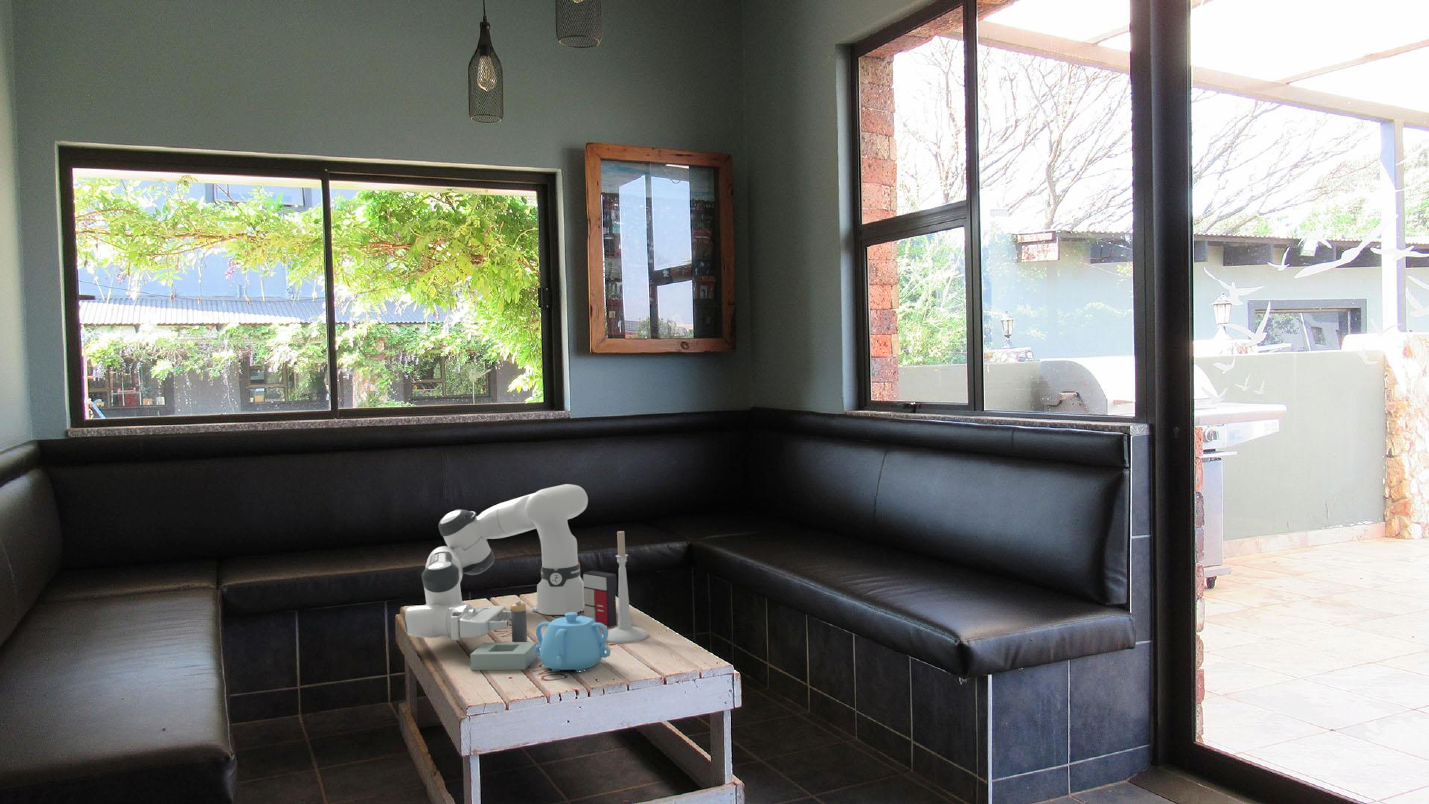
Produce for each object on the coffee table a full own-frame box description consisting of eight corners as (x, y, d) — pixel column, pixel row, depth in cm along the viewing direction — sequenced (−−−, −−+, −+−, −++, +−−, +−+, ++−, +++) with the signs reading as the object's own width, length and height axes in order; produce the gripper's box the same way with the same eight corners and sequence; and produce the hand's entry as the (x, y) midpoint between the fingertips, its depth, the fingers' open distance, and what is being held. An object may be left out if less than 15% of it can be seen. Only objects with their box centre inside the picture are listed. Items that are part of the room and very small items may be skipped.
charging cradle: (484, 657, 262) (484, 642, 262) (537, 657, 261) (536, 641, 261) (470, 670, 251) (470, 654, 251) (525, 669, 250) (524, 653, 250)
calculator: (583, 623, 296) (580, 572, 295) (594, 620, 299) (592, 570, 298) (607, 628, 288) (605, 576, 288) (618, 625, 291) (616, 574, 291)
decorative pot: (594, 654, 262) (592, 602, 262) (614, 669, 247) (612, 614, 247) (533, 664, 255) (531, 611, 255) (550, 680, 240) (548, 624, 240)
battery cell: (514, 646, 272) (512, 599, 272) (529, 646, 272) (527, 599, 272) (510, 650, 268) (508, 603, 268) (525, 650, 268) (523, 603, 268)
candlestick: (647, 642, 272) (643, 532, 271) (600, 644, 271) (596, 534, 270) (648, 630, 284) (644, 525, 283) (603, 632, 284) (598, 527, 283)
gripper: (475, 622, 281) (523, 621, 280) (450, 642, 261) (501, 641, 260) (474, 600, 281) (522, 599, 280) (449, 618, 261) (500, 617, 260)
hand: (512, 620), depth 270 cm, fingers open, 8 cm apart
